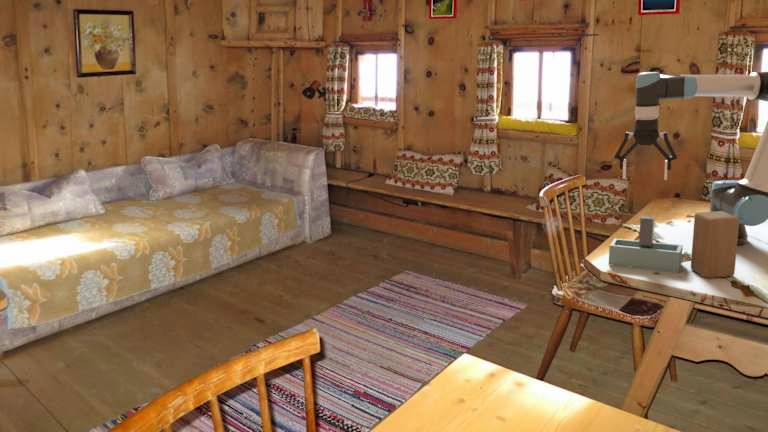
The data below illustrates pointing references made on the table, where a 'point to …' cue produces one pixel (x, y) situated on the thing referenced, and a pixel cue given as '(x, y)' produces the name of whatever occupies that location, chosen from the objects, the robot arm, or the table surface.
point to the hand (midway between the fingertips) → (644, 178)
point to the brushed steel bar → (646, 231)
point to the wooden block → (714, 244)
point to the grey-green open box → (646, 255)
